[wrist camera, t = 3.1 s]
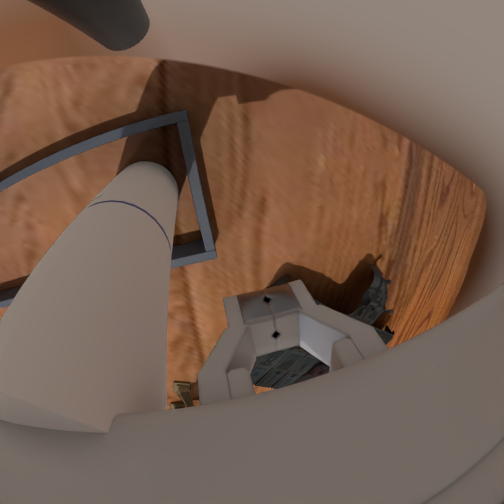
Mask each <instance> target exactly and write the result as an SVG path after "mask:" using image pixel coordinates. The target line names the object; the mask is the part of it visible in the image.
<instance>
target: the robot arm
mask: <svg viewBox="0 0 504 504" xmlns="http://www.w3.org/2000/svg"><path fill="white" fill-rule="evenodd" d="M223 302H224V307H225V312H226V317H227V322H228V327H229V328H228V329H225V330H224V331H223V333H222V335H221V337H220V338H219V340H218V342H217V343H216V345H215V347H214V348H213V350H212V352H211V353H210V355H209V357H208V358H207V360H206V362H205V363H204V365H203V367H202V368H201V370H200V372H199V373H198V375H197V381H198V391H199V401H200V406H193V407H186V408H179V409H171V410H162V411H152V412H140V413H124V414H118V415H116V416H115V417H114V418H113V420H112V423H111V425H110V428H109V431H108V433H94V432H75V431H63V430H53V429H45V428H38V427H31V426H26V425H20V424H15V423H10V422H6V421H3V420H0V504H504V283H503V284H501V285H500V286H499V287H497V288H496V289H494V290H493V291H491V292H490V293H489V294H487V295H486V296H484V297H483V298H481V299H480V300H478V301H477V302H475V303H474V304H472V305H470V306H469V307H467V308H465V309H464V310H462V311H460V312H459V313H457V314H456V315H454V316H452V317H450V318H449V319H447V320H445V321H443V322H441V323H440V324H438V325H436V326H434V327H432V328H430V329H429V330H427V331H425V332H423V333H421V334H419V335H417V336H415V337H413V338H411V339H409V340H407V341H405V342H403V343H400V344H398V345H396V346H394V347H392V348H390V349H388V347H387V346H386V345H385V343H384V342H383V340H382V339H381V338H380V336H379V335H378V333H377V332H376V331H375V329H374V328H373V327H372V326H370V325H367V324H365V323H363V322H360V321H358V320H356V319H353V318H351V317H349V316H346V315H344V314H342V313H339V312H337V311H335V310H332V309H330V308H328V307H326V306H323V305H321V304H320V305H317V304H316V303H315V301H314V300H313V298H312V296H311V295H310V293H309V291H308V290H307V288H306V287H305V285H304V283H303V282H302V280H296V281H293V282H289V283H287V284H283V285H279V286H275V287H271V288H267V289H263V290H258V291H254V292H249V293H244V294H240V295H237V296H231V297H226V298H223ZM298 345H300V347H302V348H303V349H305V350H306V351H308V352H309V353H311V354H312V355H313V356H315V357H316V358H318V359H319V360H321V361H322V362H324V363H325V364H327V365H328V366H330V368H329V373H327V374H324V375H321V376H318V377H315V378H312V379H309V380H306V381H302V382H299V383H296V384H292V385H289V386H285V387H282V388H278V389H274V390H271V391H267V392H263V393H259V394H255V391H254V387H253V384H252V380H251V377H250V374H251V372H252V369H253V366H254V363H255V361H256V357H258V356H261V355H265V354H268V353H272V352H275V351H279V350H283V349H287V348H291V347H295V346H298Z"/></svg>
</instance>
